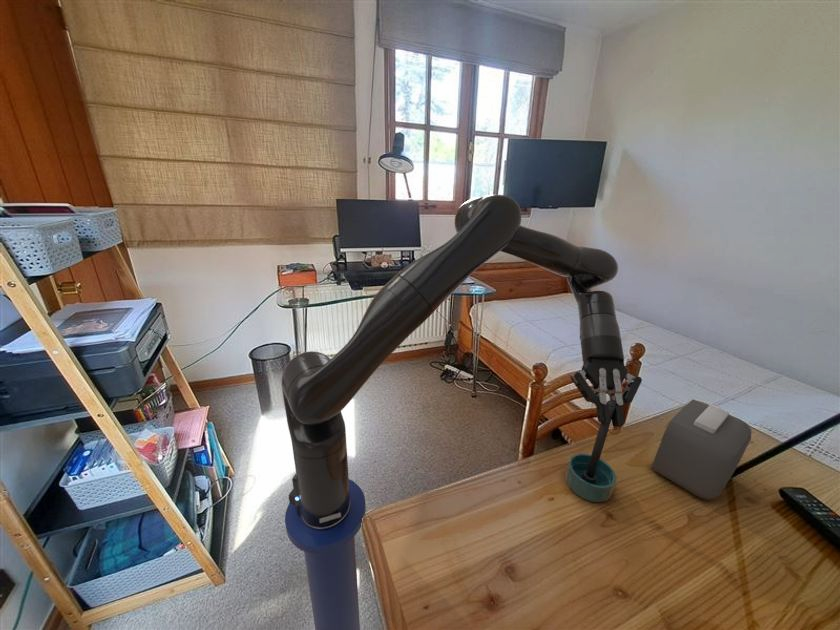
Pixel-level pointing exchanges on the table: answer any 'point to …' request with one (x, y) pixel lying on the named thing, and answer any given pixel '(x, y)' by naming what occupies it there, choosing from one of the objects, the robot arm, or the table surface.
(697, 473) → the alarm clock
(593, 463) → the long dark rod
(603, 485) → the bowl
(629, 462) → the table surface
